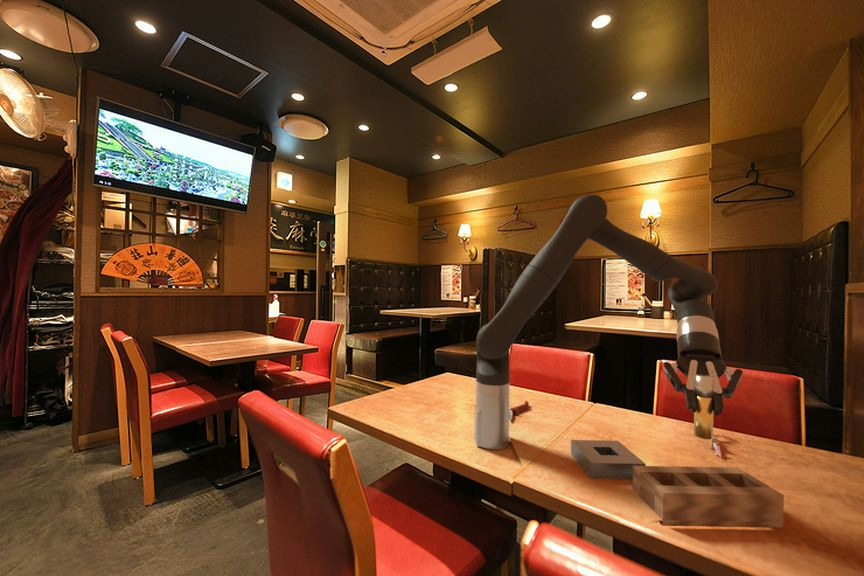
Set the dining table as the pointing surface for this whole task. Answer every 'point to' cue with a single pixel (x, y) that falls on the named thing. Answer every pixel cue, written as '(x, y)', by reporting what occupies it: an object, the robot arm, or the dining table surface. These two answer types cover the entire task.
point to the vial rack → (708, 496)
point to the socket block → (605, 459)
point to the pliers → (518, 410)
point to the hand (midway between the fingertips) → (705, 411)
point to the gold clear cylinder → (704, 406)
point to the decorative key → (715, 446)
